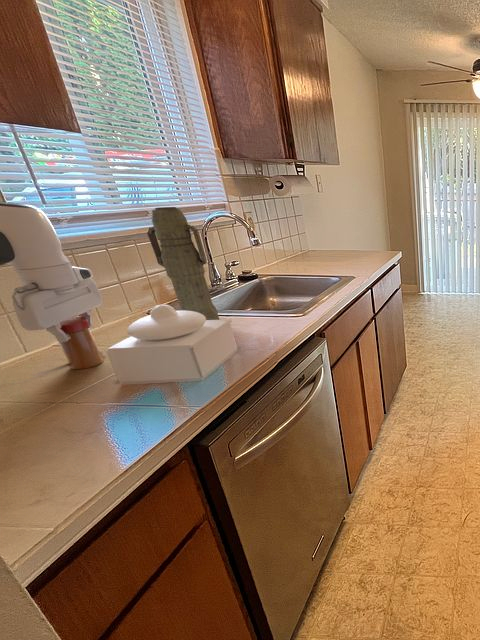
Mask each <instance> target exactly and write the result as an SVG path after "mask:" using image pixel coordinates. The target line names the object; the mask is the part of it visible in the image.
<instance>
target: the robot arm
mask: <svg viewBox="0 0 480 640" xmlns="http://www.w3.org/2000/svg"><path fill="white" fill-rule="evenodd" d="M8 265H11V266H12V267H13V269H14V270H15V272H16V274H17V276H18V278H19V279H20V282H21V283H22V285H23V286H18V287H15V288H14V290H13V292H12V294H11V299H12V307H13V310H14V312H15V315H16V318H17V319H18V323H19V325H20V326H21V327H22V328H23V329H24V330H26V331H29V332H30V331H43V330H46V331H47V332H48V333H50V334H51V335H53V336H54V337H55V338H56V340H57V342H58V343H59V342H67V341H68V340H70V339H71V337H70V335H69V333H64V332H63V331H62V330H61V329H60V328H61V325H60V323H61V322H63V321H65V320H68V319H70V318H73V317H86V318H87V320H88V321H89V323H90V326H89V329H90V331H91V330H94V329H95V326H94V324H93V312H92V310H94V309H97V308H98V307H99V308H100V307H102V306H103V304H104V298H103V295H102V293H101V290H100V288H99V286H98V284H97V282H96V281H95V280H94V279H93V278H94V274H93V271H92V270H91V269H90V268H85V267H77V266H72V264H71V262H70V260H69V259H68V257H67V256H66V255H65V253H64V252H63V247H62V241H61V240H60V238H59V236H58V234H57V232H56V229H55V228H54V225H52V222H51V221H50V219H49V217H47V215H46V214H45V213H44V211H43V210H42V209H40V208H38V207H36V206H34V205H31V204H25V203H19V202H18V203H17V202H4V201H0V267H1V266H8Z"/></svg>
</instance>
